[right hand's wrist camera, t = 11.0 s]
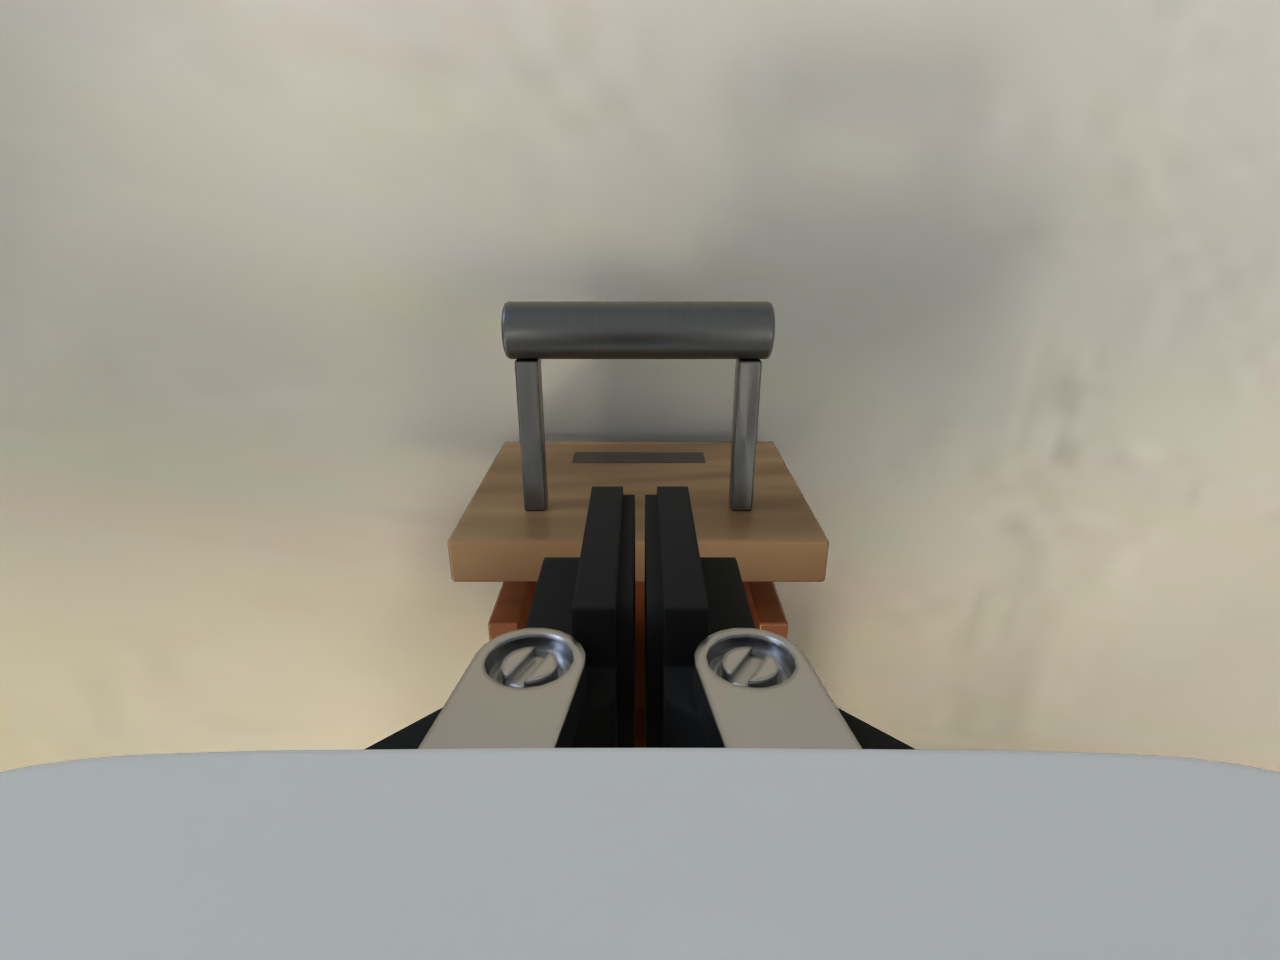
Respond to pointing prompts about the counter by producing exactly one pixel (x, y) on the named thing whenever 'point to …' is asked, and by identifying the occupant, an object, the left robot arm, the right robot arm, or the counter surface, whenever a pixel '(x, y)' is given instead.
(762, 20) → the counter surface
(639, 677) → the drawer
